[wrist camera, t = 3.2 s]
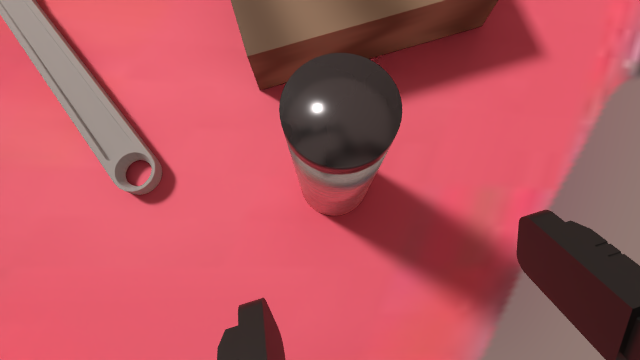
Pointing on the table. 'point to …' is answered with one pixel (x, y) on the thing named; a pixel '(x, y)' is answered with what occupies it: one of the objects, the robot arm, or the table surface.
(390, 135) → the steel pin
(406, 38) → the block
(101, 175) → the table surface
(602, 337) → the robot arm
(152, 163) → the adjustable wrench
